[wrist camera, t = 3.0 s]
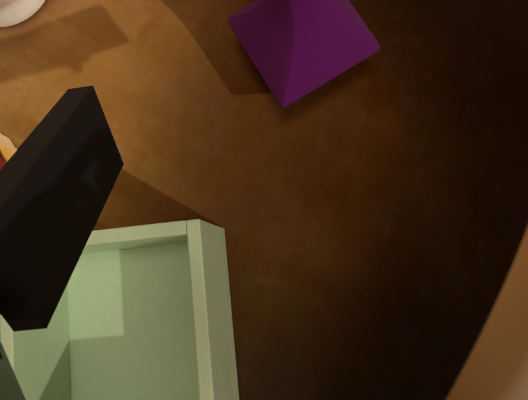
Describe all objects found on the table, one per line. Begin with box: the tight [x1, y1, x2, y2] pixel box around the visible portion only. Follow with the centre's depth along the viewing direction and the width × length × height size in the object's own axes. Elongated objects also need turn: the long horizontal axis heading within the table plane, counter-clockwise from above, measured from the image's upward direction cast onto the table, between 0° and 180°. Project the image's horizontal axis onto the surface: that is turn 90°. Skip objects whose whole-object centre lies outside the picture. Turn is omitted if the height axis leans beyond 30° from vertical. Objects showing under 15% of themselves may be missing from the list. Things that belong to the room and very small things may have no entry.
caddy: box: [0, 219, 239, 400], centre depth 29 cm, size 12×12×7 cm
